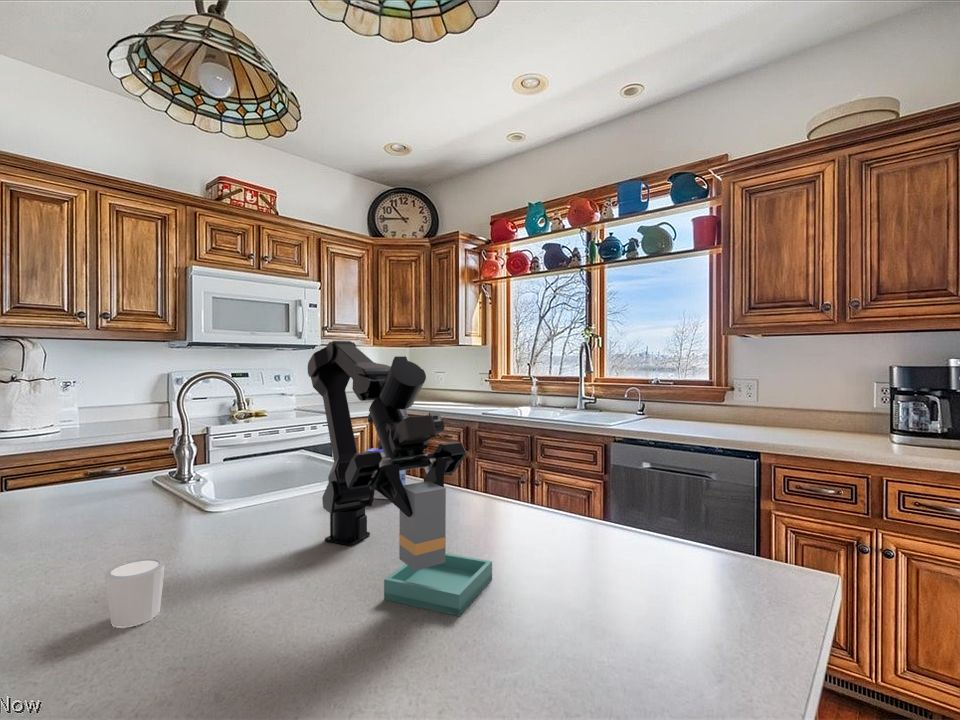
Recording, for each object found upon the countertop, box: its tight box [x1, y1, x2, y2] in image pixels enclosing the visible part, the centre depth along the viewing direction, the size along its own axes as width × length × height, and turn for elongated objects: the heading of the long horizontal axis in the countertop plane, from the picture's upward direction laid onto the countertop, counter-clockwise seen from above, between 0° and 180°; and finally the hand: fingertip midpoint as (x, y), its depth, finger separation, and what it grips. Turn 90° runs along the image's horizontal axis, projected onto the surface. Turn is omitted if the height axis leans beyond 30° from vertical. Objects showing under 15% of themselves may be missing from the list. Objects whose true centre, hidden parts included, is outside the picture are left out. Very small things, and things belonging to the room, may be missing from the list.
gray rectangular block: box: [398, 481, 447, 571], centre depth 74 cm, size 5×5×11 cm
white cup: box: [104, 558, 166, 627], centre depth 69 cm, size 7×7×7 cm
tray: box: [383, 552, 493, 617], centre depth 78 cm, size 12×12×3 cm
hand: (427, 512), depth 73 cm, fingers closed on gray rectangular block, 5 cm apart
